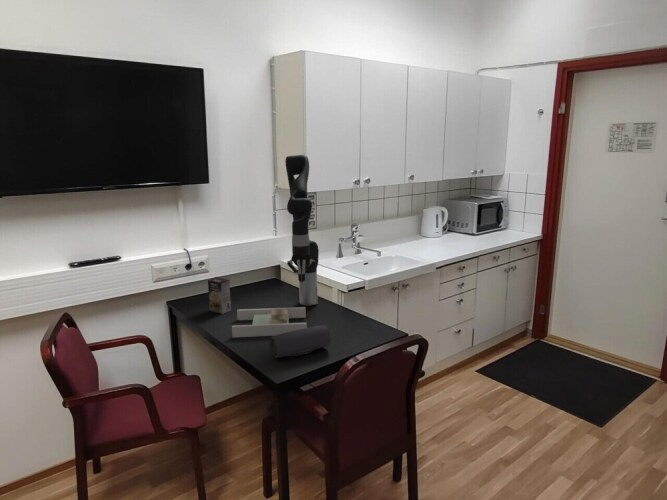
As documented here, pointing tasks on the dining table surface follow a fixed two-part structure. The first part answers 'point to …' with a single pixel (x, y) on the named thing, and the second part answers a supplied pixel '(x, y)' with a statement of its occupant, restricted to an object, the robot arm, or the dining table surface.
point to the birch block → (279, 316)
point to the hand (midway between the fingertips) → (301, 281)
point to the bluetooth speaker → (299, 341)
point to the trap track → (267, 322)
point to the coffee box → (219, 295)
